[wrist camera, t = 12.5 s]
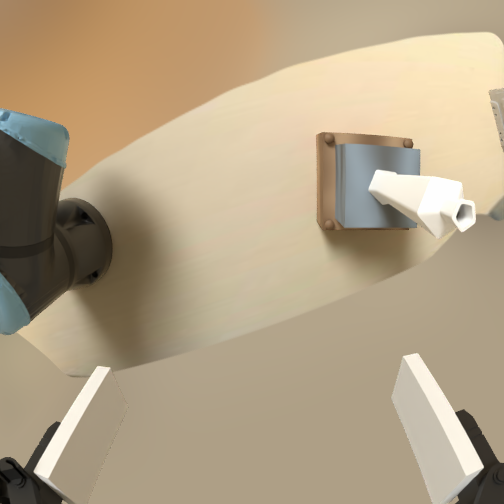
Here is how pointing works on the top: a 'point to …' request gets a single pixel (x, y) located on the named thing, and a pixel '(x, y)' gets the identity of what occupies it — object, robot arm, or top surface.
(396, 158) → the blue block on board
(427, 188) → the perfume bottle
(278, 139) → the top surface
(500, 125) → the cassette
